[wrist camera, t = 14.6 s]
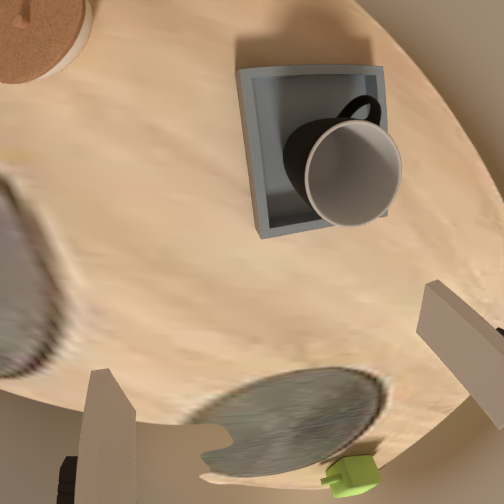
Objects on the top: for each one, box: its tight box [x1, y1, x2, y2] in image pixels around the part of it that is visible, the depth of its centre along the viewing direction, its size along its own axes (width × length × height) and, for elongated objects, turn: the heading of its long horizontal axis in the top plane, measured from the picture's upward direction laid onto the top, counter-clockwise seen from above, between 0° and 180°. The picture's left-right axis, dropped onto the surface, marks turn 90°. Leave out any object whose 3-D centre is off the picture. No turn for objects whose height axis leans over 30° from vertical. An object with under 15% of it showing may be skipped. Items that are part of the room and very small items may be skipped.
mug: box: [283, 95, 402, 228], centre depth 28 cm, size 12×9×10 cm
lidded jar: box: [0, 0, 93, 84], centre depth 18 cm, size 11×11×9 cm
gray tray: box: [235, 64, 388, 239], centre depth 32 cm, size 15×17×3 cm
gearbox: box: [320, 455, 382, 498], centre depth 65 cm, size 18×10×10 cm, turn 65°
